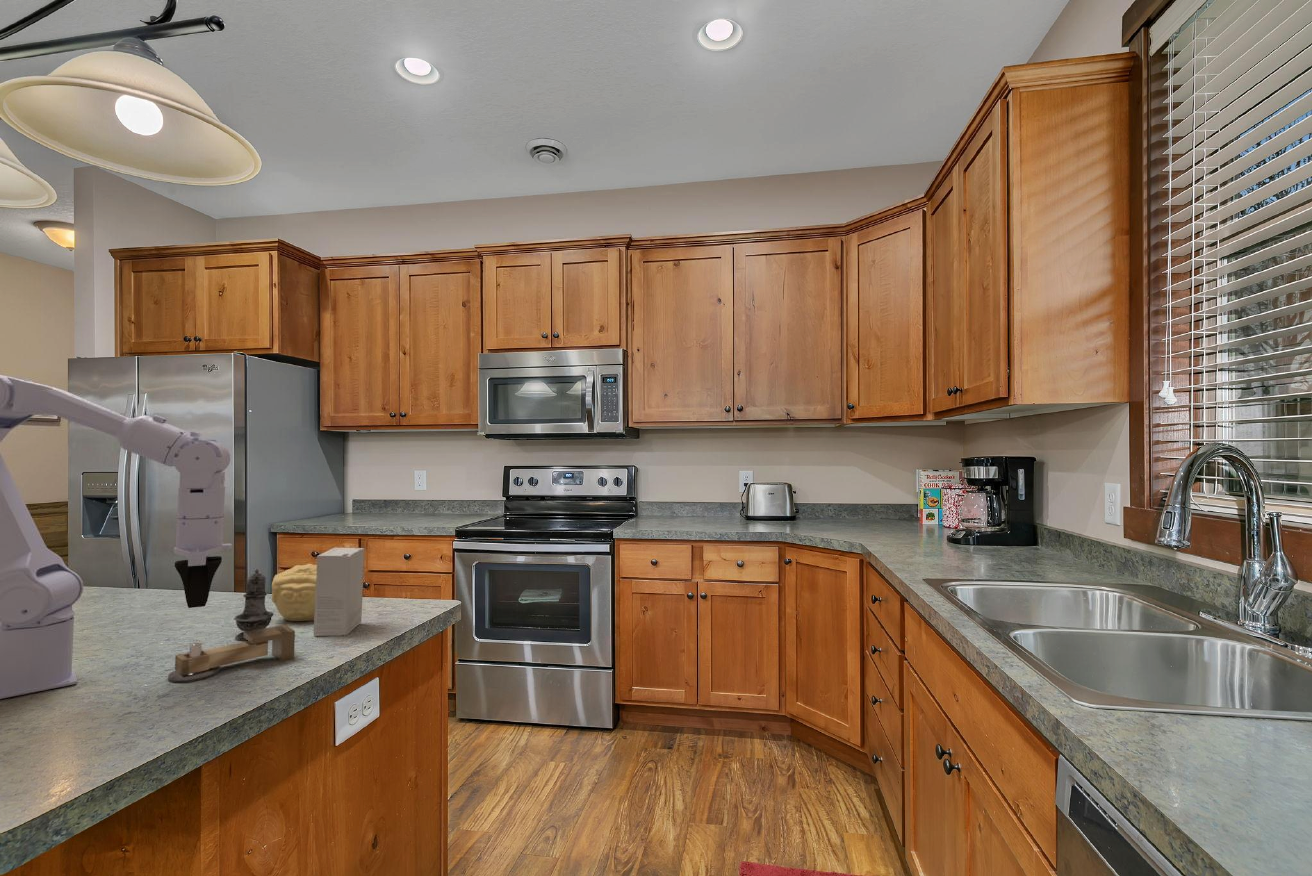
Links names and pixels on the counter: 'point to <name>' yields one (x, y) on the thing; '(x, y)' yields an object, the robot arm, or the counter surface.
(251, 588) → the dark grey tall piece
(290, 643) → the keeper
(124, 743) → the counter surface
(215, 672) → the pintle base
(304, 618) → the sculpture
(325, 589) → the skincare box
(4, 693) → the robot arm
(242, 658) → the link
